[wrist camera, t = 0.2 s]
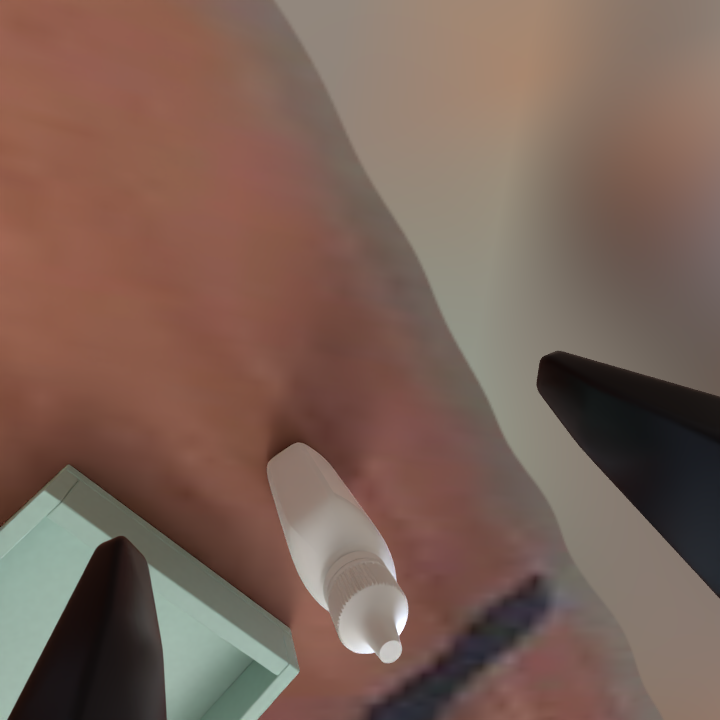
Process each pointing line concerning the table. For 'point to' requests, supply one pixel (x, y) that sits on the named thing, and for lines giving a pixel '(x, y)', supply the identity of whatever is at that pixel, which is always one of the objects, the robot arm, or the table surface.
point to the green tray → (171, 595)
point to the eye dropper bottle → (338, 552)
